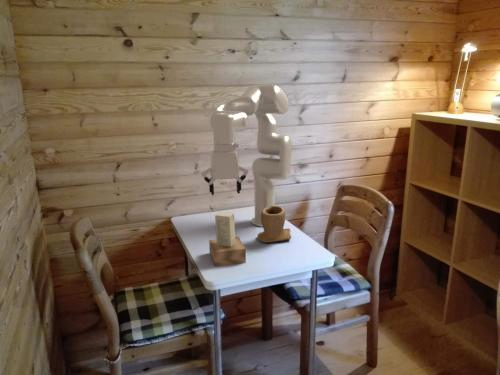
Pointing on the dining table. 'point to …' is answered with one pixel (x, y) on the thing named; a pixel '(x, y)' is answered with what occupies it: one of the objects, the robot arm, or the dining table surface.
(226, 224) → the skincare box
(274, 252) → the dining table surface
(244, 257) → the walnut block
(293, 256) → the dining table surface
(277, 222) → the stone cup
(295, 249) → the dining table surface
